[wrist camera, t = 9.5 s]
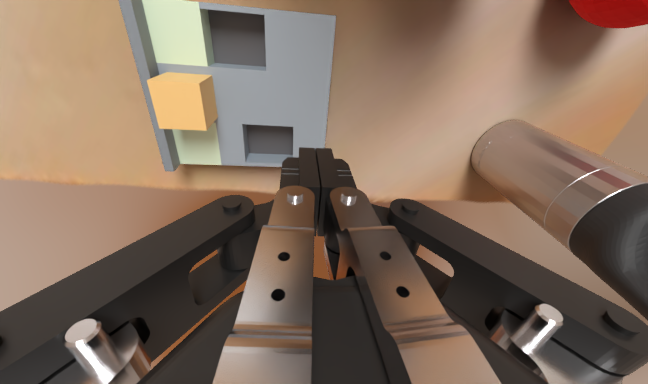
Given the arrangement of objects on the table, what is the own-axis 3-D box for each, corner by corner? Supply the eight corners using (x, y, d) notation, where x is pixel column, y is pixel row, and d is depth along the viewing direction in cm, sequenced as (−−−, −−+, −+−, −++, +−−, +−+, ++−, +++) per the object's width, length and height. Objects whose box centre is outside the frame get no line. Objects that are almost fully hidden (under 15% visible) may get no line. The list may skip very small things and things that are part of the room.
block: (212, 75, 28) (199, 83, 24) (217, 117, 30) (206, 130, 27) (167, 72, 28) (146, 80, 24) (176, 115, 30) (159, 128, 26)
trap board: (332, 16, 29) (338, 15, 24) (320, 158, 38) (324, 175, 34) (144, -3, 26) (116, -7, 22) (180, 153, 36) (165, 171, 31)
